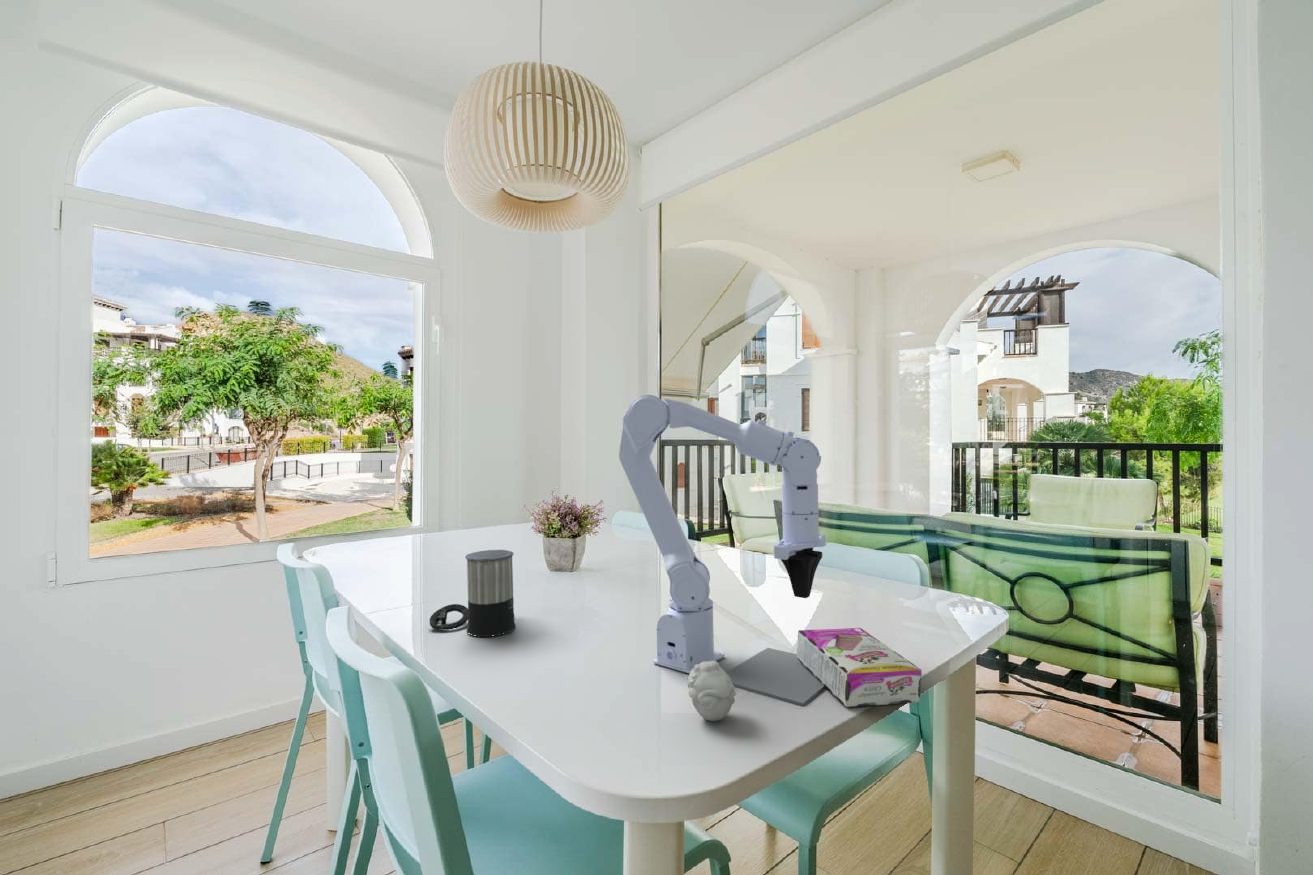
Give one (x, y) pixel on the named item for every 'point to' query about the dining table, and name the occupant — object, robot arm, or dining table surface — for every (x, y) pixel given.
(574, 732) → the dining table surface
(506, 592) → the milk frother
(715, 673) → the white carved ornament
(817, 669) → the candy bar box
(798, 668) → the rubber mat
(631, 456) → the robot arm
